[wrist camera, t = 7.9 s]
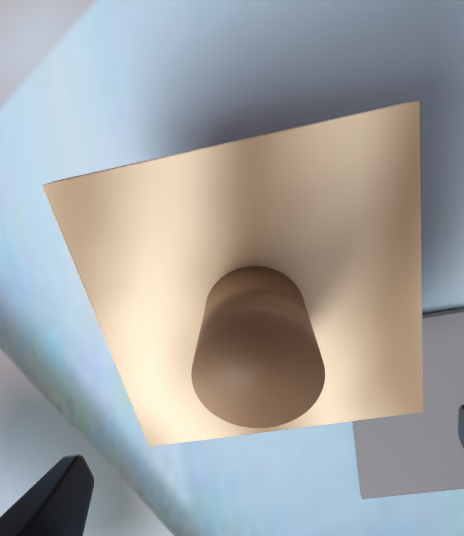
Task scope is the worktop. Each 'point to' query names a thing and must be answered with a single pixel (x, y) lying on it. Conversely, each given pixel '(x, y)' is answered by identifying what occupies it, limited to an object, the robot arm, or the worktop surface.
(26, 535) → the robot arm
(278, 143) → the lid
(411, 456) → the mat
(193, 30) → the worktop surface
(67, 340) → the worktop surface
